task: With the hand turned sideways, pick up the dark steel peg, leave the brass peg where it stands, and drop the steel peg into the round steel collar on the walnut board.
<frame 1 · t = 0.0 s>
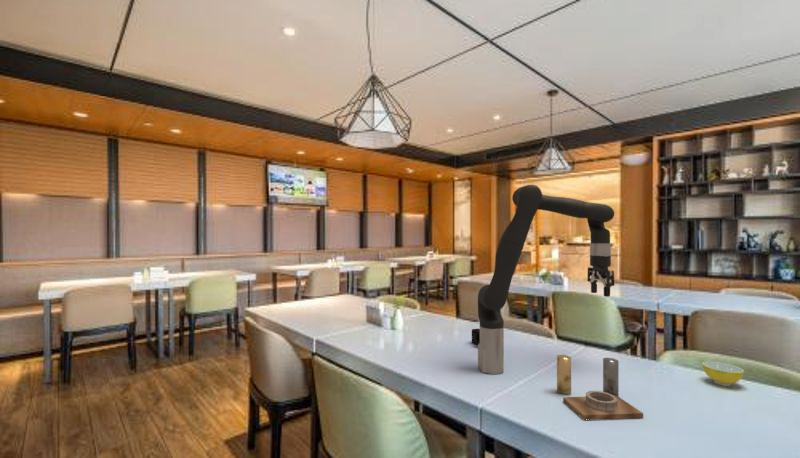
hand: (600, 294, 153), 29 cm above the table, tool pointing down, fingers open, 8 cm apart
bowl: (722, 384, 137), on the table
steel peg: (610, 396, 126), on the table
socket board: (601, 409, 116), on the table
digital camera: (480, 346, 182), on the table
brass peg: (564, 392, 129), on the table
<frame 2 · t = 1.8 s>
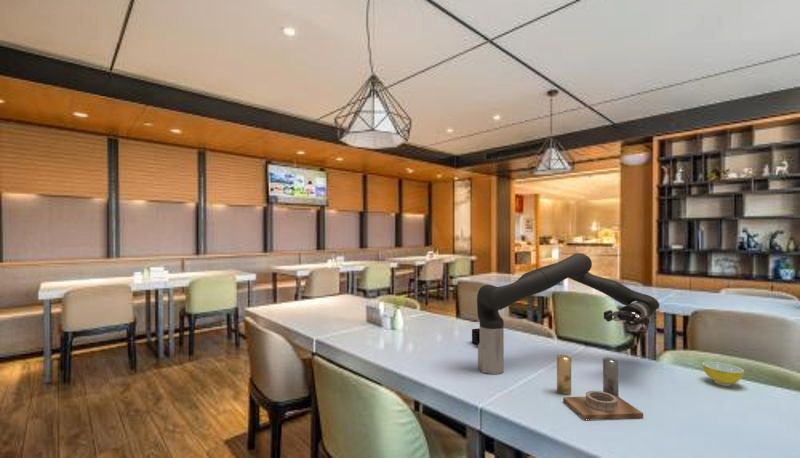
hand: (620, 320, 134), 23 cm above the table, tool horizontal, fingers open, 8 cm apart
nothing on the table moved.
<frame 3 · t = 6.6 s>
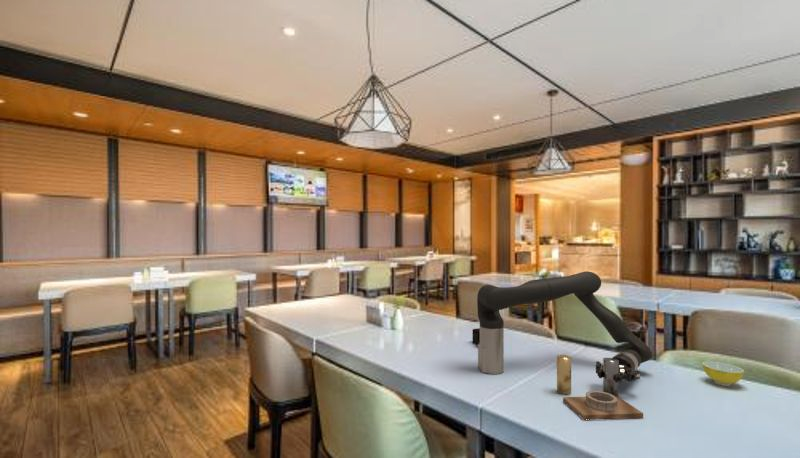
hand: (608, 377, 124), 7 cm above the table, tool horizontal, fingers closed on steel peg, 4 cm apart
steel peg: (610, 396, 126), on the table, touching gripper
when the fingers open (10 cm above the table, at t = 11.8 s): steel peg drops 1 cm, resting on socket board.
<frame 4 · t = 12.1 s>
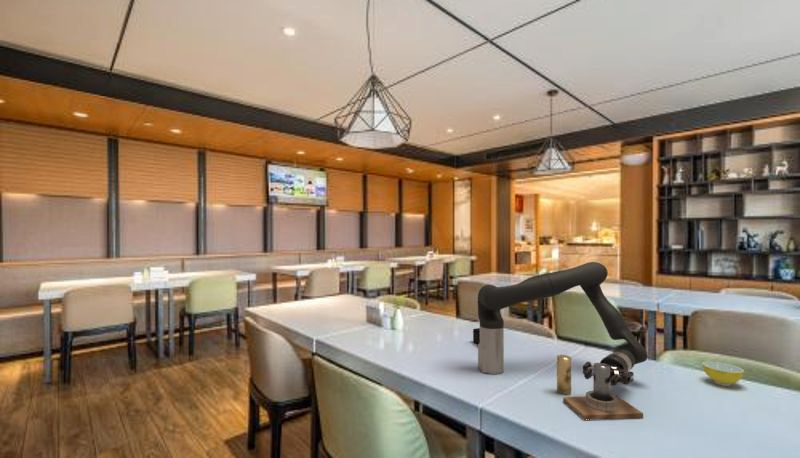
hand: (598, 379, 115), 10 cm above the table, tool horizontal, fingers open, 6 cm apart
steel peg: (601, 404, 116), point 2 cm above the table, touching socket board
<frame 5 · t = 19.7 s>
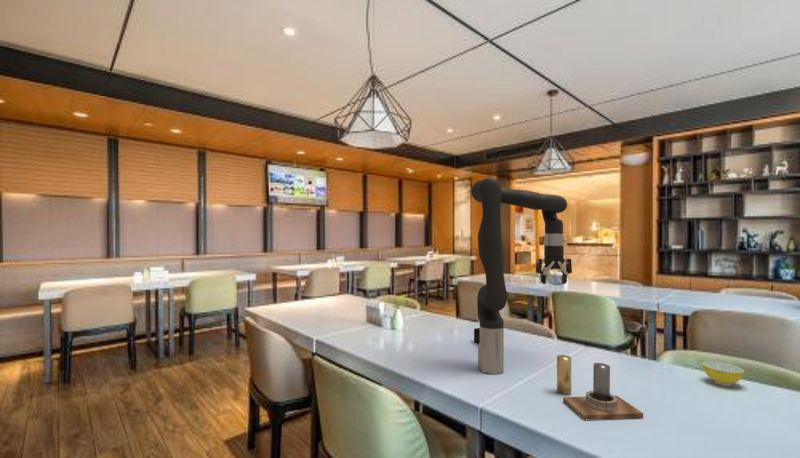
hand: (553, 283, 157), 33 cm above the table, tool pointing down, fingers open, 8 cm apart
at the end: steel peg 0.1 cm off-centre on the socket board, point 1.5 cm above the socket board's base; steel peg tilted 0°; brass peg moved 0.0 cm from its start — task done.
